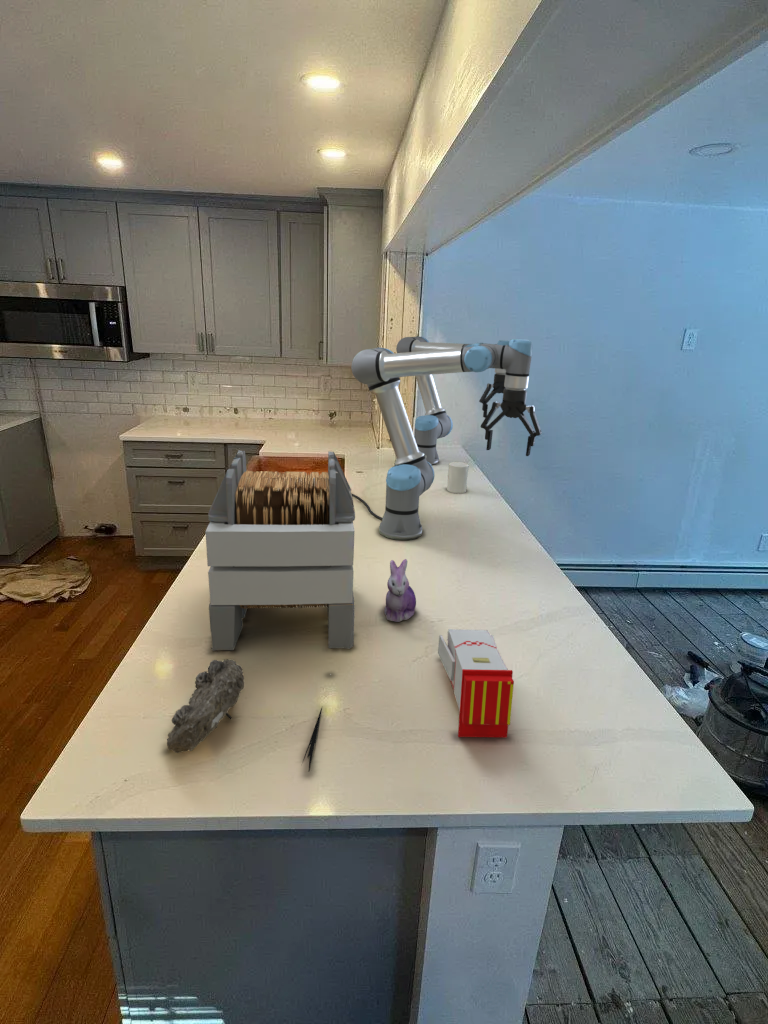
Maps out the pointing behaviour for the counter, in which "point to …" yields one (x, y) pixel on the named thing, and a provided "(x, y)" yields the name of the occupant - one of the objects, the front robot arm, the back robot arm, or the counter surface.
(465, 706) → the toy
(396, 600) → the figurine
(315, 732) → the feather
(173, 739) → the fossil
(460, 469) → the can
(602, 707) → the counter surface
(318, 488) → the record crate
